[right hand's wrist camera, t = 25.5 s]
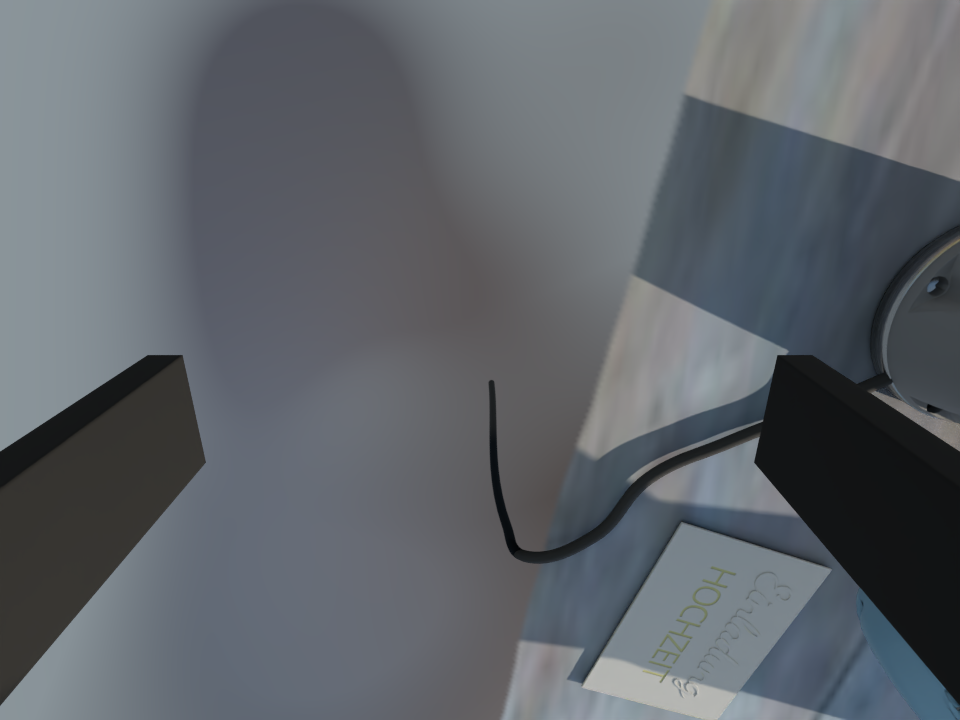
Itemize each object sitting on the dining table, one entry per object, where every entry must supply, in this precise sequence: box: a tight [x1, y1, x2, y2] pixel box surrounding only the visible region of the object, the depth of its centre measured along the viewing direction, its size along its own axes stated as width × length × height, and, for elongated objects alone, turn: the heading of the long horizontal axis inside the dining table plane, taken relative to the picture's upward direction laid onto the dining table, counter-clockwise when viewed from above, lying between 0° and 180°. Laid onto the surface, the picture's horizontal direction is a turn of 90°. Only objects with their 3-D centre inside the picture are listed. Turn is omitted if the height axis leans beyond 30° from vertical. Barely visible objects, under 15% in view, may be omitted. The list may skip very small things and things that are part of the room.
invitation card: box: [581, 522, 832, 720], centre depth 52 cm, size 21×1×15 cm
